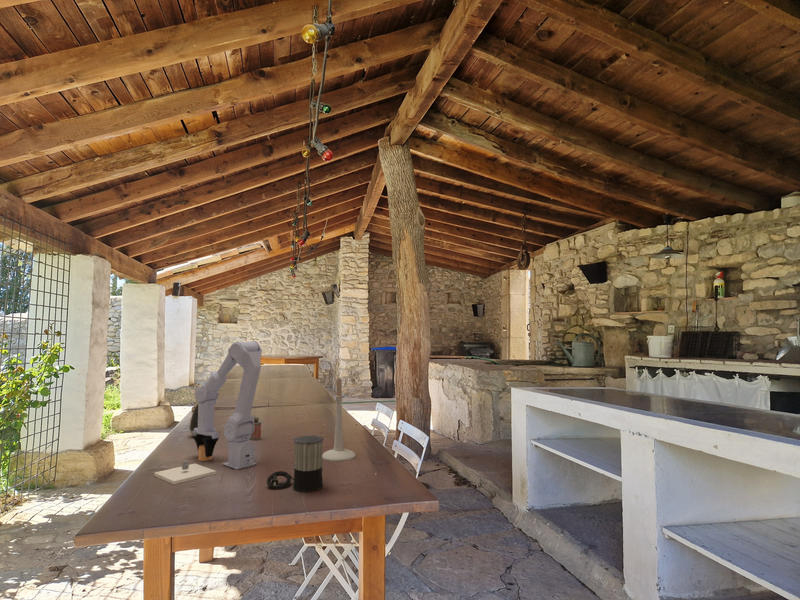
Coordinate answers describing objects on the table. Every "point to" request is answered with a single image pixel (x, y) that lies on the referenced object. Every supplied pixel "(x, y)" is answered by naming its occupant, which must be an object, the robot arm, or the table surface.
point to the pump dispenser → (194, 421)
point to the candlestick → (338, 433)
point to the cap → (202, 454)
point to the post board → (184, 473)
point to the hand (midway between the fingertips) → (205, 455)
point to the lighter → (256, 430)
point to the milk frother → (303, 466)
